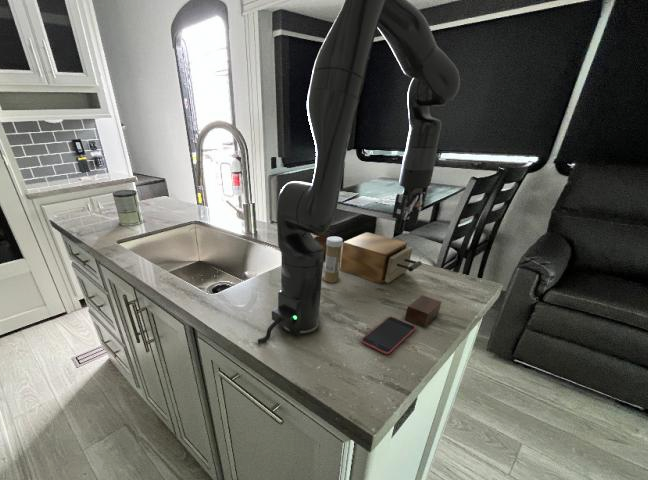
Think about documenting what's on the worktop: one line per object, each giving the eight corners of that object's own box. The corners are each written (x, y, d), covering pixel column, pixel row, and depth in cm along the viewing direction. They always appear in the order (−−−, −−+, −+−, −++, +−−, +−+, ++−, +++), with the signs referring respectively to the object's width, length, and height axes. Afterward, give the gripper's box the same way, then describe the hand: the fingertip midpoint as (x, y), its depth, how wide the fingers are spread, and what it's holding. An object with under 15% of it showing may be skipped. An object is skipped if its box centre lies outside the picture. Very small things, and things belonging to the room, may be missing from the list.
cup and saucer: (338, 263, 111) (339, 246, 108) (303, 259, 114) (304, 243, 111) (340, 250, 121) (342, 234, 118) (309, 247, 124) (310, 232, 121)
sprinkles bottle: (341, 280, 100) (346, 239, 93) (330, 284, 97) (334, 242, 91) (331, 275, 103) (335, 234, 96) (320, 278, 101) (323, 237, 94)
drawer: (422, 275, 100) (428, 251, 97) (404, 288, 93) (409, 263, 89) (370, 258, 112) (373, 237, 108) (350, 269, 104) (352, 246, 100)
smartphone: (359, 339, 73) (389, 315, 81) (359, 341, 73) (389, 317, 81) (388, 354, 68) (417, 326, 77) (387, 356, 69) (416, 328, 77)
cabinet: (401, 270, 106) (407, 242, 101) (380, 284, 98) (385, 254, 93) (362, 258, 115) (366, 232, 110) (340, 269, 107) (343, 242, 102)
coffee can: (117, 222, 154) (109, 191, 147) (138, 218, 160) (132, 188, 153) (124, 227, 148) (116, 195, 140) (146, 222, 153) (139, 192, 146)
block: (437, 315, 83) (441, 301, 80) (424, 327, 78) (428, 314, 76) (418, 307, 86) (422, 294, 84) (404, 319, 81) (407, 306, 79)
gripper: (415, 161, 87) (403, 220, 96) (390, 168, 79) (380, 232, 87) (443, 163, 83) (429, 225, 91) (420, 171, 74) (407, 238, 83)
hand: (405, 228), depth 89 cm, fingers open, 8 cm apart
